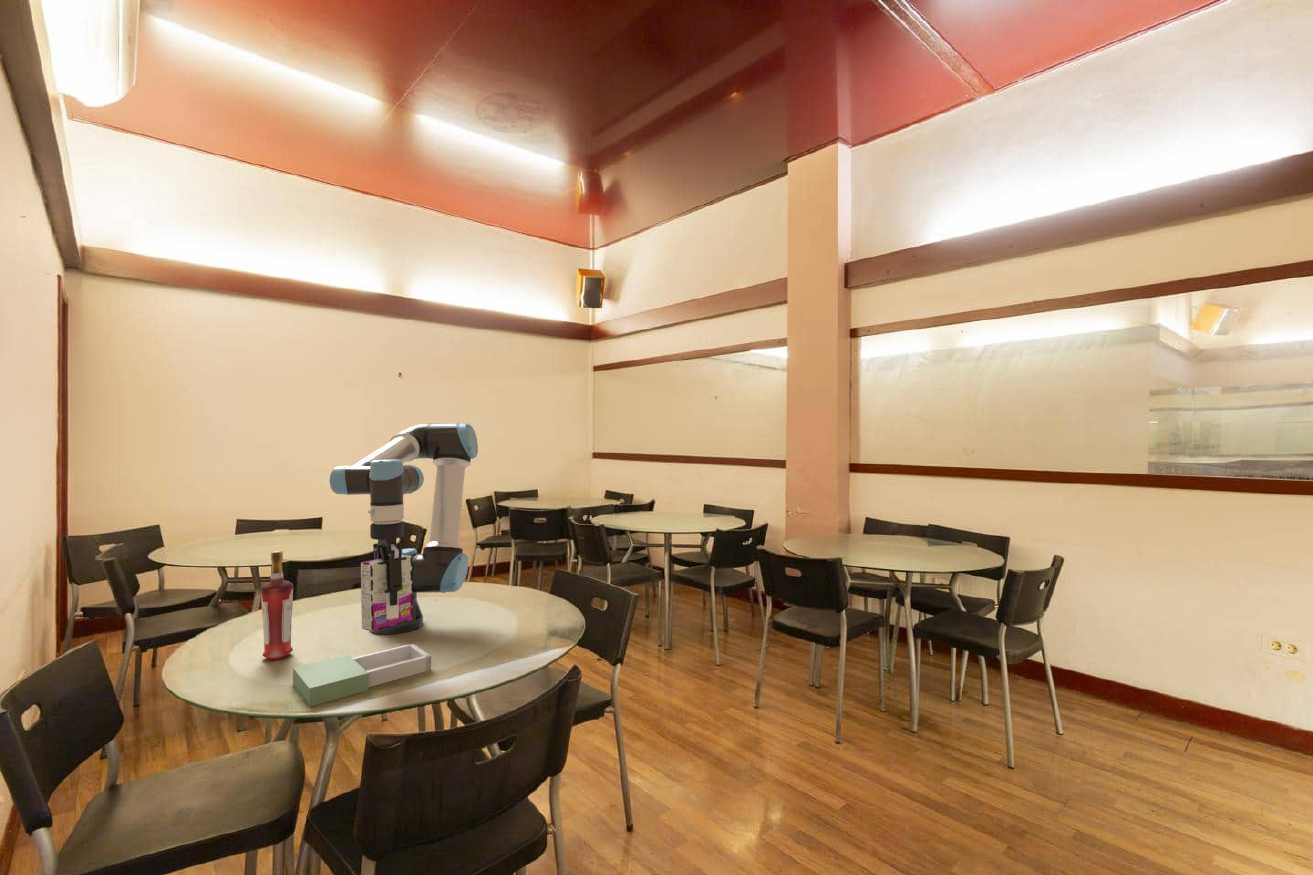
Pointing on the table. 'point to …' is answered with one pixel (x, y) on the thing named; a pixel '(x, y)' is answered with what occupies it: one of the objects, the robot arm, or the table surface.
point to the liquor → (277, 611)
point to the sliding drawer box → (357, 673)
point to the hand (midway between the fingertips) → (387, 614)
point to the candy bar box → (384, 594)
